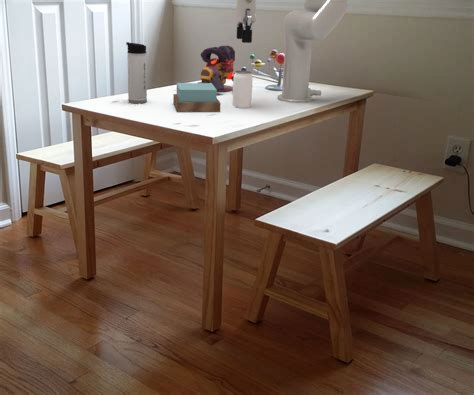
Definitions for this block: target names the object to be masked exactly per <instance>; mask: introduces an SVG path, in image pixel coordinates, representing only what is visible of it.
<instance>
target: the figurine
mask: <svg viewBox="0 0 474 395" xmlns="http://www.w3.org/2000/svg"><path fill="white" fill-rule="evenodd" d="M212 54H213V55H215V56H217V57H215V58H214V57H213V58H212ZM200 57H201V59H202V61H203V62H204V63H205V66H204V67H203V68H202V70H201V71H200V76H199V77H200V81H198V82H197V83H212V84H213V85H214V87H215V88H216V90H217V93H230V92H233V86H230V85H226V82H227V80H228V81H229V80H231V82H233V78H234V74H235V68H234V62H235V60H236V50H235V49H234V47H232V46H231V45H220V46H213V47H212V46H211V47H208V48H205V49H204V50H202V52H200Z"/></svg>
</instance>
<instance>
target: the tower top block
mask: <svg viewBox="0 0 474 395" xmlns="http://www.w3.org/2000/svg"><path fill="white" fill-rule="evenodd" d="M176 94H177V97H178V99H179V102H216V100H217V99H218V97H217V95H218V92H217V90H216V88H215V87H214V85H213V84H212V83H198V82H176Z"/></svg>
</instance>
